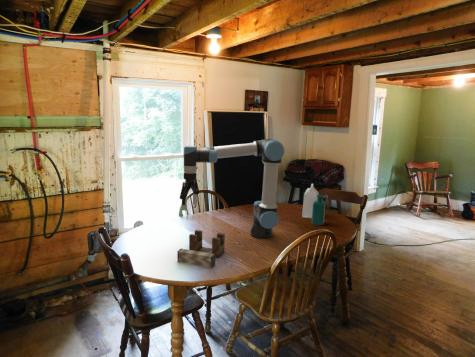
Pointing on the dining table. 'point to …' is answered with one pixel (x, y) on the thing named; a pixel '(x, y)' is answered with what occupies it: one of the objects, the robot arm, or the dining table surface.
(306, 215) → the milk
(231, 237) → the dining table surface
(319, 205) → the teal green bottle
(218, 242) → the brown u-shaped block
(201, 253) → the rail
